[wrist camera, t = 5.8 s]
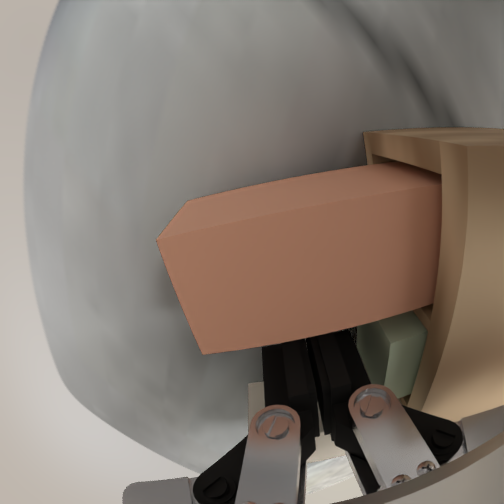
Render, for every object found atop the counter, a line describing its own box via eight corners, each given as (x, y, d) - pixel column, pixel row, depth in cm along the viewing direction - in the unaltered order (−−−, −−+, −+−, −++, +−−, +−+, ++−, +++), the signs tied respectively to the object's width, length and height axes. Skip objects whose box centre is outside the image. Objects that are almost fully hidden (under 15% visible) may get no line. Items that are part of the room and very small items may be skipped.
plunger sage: (356, 285, 10) (390, 343, 7) (512, 239, 9) (555, 269, 6) (357, 346, 11) (380, 404, 8) (501, 294, 10) (535, 328, 7)
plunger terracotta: (187, 200, 8) (155, 239, 6) (446, 156, 8) (510, 175, 5) (214, 289, 10) (202, 354, 7) (446, 239, 9) (498, 278, 6)
